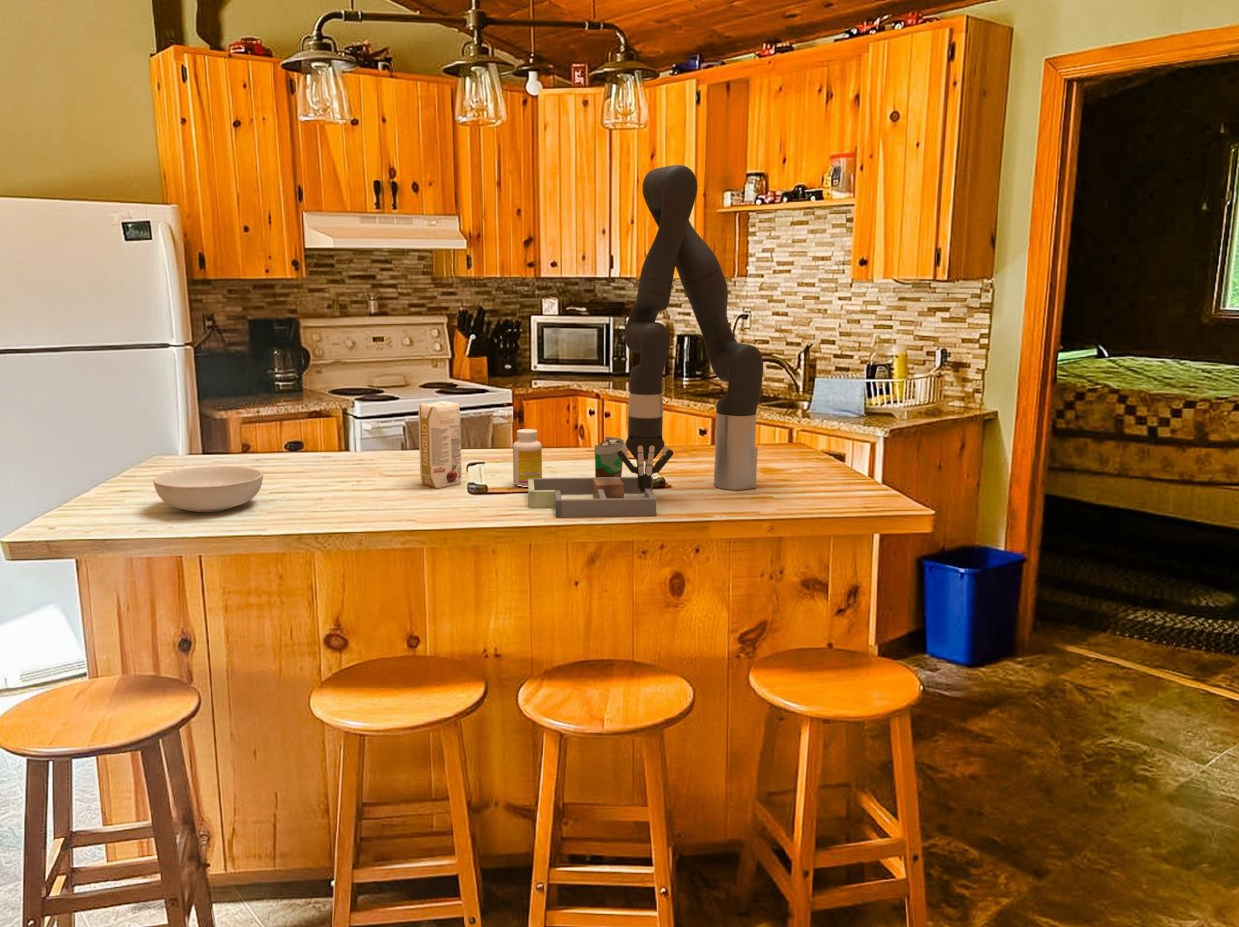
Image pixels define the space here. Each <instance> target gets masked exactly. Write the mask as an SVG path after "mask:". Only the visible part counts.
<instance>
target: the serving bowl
mask: <svg viewBox="0 0 1239 927" xmlns="http://www.w3.org/2000/svg"><path fill="white" fill-rule="evenodd" d="M263 479H264V473H263V472H262V471H261V470H260V469H256V468H253V467H248V466H237V465H235V466H233V465H227V466H226V465H218V466H217V465H215V466H213V465H211V466H197V467H190V468H189V467H188V468H183V469H177V470H170V471H167V472H165V473H162V474H158V475H157V476H156V477H154V478H153V485H154V488H155V491H156V494H157V496H158V497H159V498H160V499H161V500H162V501H163V502H164V503H165V504H167V505H168V506H171V507H172V508H176V509H179V510H185V511H189V512H192V513H193V512H194V513H195V512H196V513H215V512H222V511H223V512H224V511H227V510H229V509H232V508H235V507H237V506H240V505H244V504H245V503H247V502H249V501H251V500H252V499H254V498H255V497H256V496H257V494H258V493H259V492H260V490H261V487H262V485H263Z"/></svg>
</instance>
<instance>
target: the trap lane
mask: <svg viewBox="0 0 1239 927" xmlns="http://www.w3.org/2000/svg"><path fill="white" fill-rule="evenodd" d="M615 478H620V480H621V481H622V482H623V484H624V494H644V497H632V498H631V497H627V498H625V497H624V498H610V499H607V498H606V496H605V493H604V491H603V489H598V490H597V499H594V498H562V495H587V494H588V495H593V479H615ZM653 480H654V478H653V476H651V489H645V492H641V489H640V490H639V488H638V476H621V477H595V476H594V477H591V476H590V477H542V478H528V488H527V493H528V494H527V495H528V497H527V498H528V508H529V509H548V508H553V509H554V512H555V517H556V518H592V517H593V518H598V517H599V518H601V517H602V518H605V517H606V518H607V517H608V518H611V517H648V516H647V515H656V516H657V503H658V502H657V501H658V500H657V499H658V498H656V496H655V494H654V493H653V488H654V486H653V485H654V481H653Z"/></svg>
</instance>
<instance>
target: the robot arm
mask: <svg viewBox="0 0 1239 927" xmlns="http://www.w3.org/2000/svg"><path fill="white" fill-rule="evenodd" d="M642 195H643V198H644V202H645V204H646V206H647V208H648V211H649V213H650V214H651V216H652V218H653V219H654V222H655V224H656V225H657V228H658V229H657V232H656V234H655V237H654V240H653V242H652V244H651V246H650V248H649V250H648V252H647V254H646V256H645V258H644V261H643V264H642V267H641V270H640V276H639V280H638V281H639V282H638V288H637V295H636V299H635V302H634V304H633V306H632V309H631V311H630V313H629V315H628V316H629V317H628V319H627V321H626V323H625V327H624V341H625V345H626V347H627V349H628V350H629V351H631V352H632V353H637V354H641V355H640V358H639V359H640V360H639V364H638V365H635V366H633V367H632V368H631V369H630V373H629V396H628V398H629V399H628V411H627V412H628V413H627V415H628V416H627V418H628V419H627V438H626V440H625V442H624V443H625V446H623V447H622V448H621V449H618V450H617V451H616V452H617V454H618V456H619V457H620V458H621V460H622V461H623V464H624V465H625V466H626V467H627V469H628V470H629V471H630V472H631V473H632V474H636V475H637V477H638V488H639V490H640V489H641V492H645V489H651V477H653V475H654V474H657V473H659V472H660V471H661V470H662V469H663V468H664V467H665V465H666V464H667V463H668V462H669V460H670V459H671V458H672V457H673V455H674V450H673V449H671V448H669V447H668V446H666V444H665V440H664V439H663V427H664V425H663V423H664V422H663V419H664V401H663V400H664V399H663V374H664V370H665V367H666V364H667V359H668V355H669V352H670V346H671V339H670V337H671V336H670V333H669V331H668V329H667V327H666V326H665V325H664V324H663V323H661V322H658V321H656V320H657V317H658V315H659V313H661V312H663V311H665V310H667V309H668V307H669V305H670V299H671V293H672V287H673V281H674V276H675V271H677V274H678V277H679V279H680V283H681V286H682V288H683V290H684V293H685V295H686V297H687V299H688V301H689V305H690V307H691V310H692V312H693V315H694V318H695V320H696V323H697V325H698V328H699V330H700V332H701V335H702V340H703V341H704V346H705V350H706V353H707V356H708V359H709V363H710V366H711V370H712V371H713V373H714V375H715V376H716V377H717V378H718V379H719V380H721V381H722V382H726V383H728V384H727V392H726V395H725V396H723V397H722V398H720V399H719V400H717V401H716V415H715V416H716V418H715V422H716V423H715V443H714V444H715V445H714V446H715V448H714V470H713V471H714V473H713V479H714V480H713V486H714V487H716V488H719V489H725V490H731V491H732V490H733V491H734V490H735V491H739V490H740V491H741V490H742V491H743V490H749V489H756V488H757V473H758V472H757V470H758V469H757V468H758V467H757V466H758V452H759V450H758V447H757V446H756V438H757V437H756V434H757V410H758V406H759V405H760V404H759V403H760V402H761V397H762V390H763V378H764V359H763V355H762V353H761V351H760V349H758V347H756V346H755V345H752V344H749V343H748V344H747V343H742V342H741V343H740V342H738V341H737V339H736V338H735V335H734V333H733V330H732V329H731V326H730V323H729V320H728V319H729V318H728V302H729V301H728V300H729V288H728V284H727V283H728V282H727V280H726V278H725V274H724V272H723V268H722V267H721V263H720V261H719V260H718V258H717V256H716V254H715V253H714V251H713V250H712V249H711V248H710V247H709V245H708V244H707V243H706V241H705V240H704V239H703V238H702V237H701V235H699V234H698V232H697V231H696V230H695V228H694V227H693V225H692V224H691V222H690V218H691V214H692V211H693V209H694V205H695V203H696V198H697V195H698V179H697V177H696V175H695V172H693V170H692V169H691V168H689V166H686V165H682V164H674V165H668V166H661V167H656V168H653V169H651V170H650V171H648V172H647V173H646V175H645V176H644V179H643V181H642ZM628 451H629V452H630V454H631V455H632V457H633V458H634V459H635V460H636V466H635V465H634V464H633V463H632V462H631V460H630V459H629V458H628V455H629V452H628ZM660 452H661V454H660ZM659 454H660V455H661V456H660V458H659V459H658V460H657V461H656V462H655V464H654V459H656V458H657V457H658V455H659ZM644 460H645V461H644Z"/></svg>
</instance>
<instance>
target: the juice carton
mask: <svg viewBox="0 0 1239 927" xmlns="http://www.w3.org/2000/svg"><path fill="white" fill-rule="evenodd" d="M460 410H461V409H460V404H459V403H457V402H452V401H445V400H440V401H436V402H432V403H427V402H426V403H418V416H417V417H418V439H419V440H418V443H419V445H418V446H419V474H420V481H421V484H422V485H424V486H428V487H432V488H435V489H441V488H447V487H450V486H457V485H460V484H461V483H462V440H461V439H462V437H461V435H462V434H461V433H462V432H461V411H460Z"/></svg>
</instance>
